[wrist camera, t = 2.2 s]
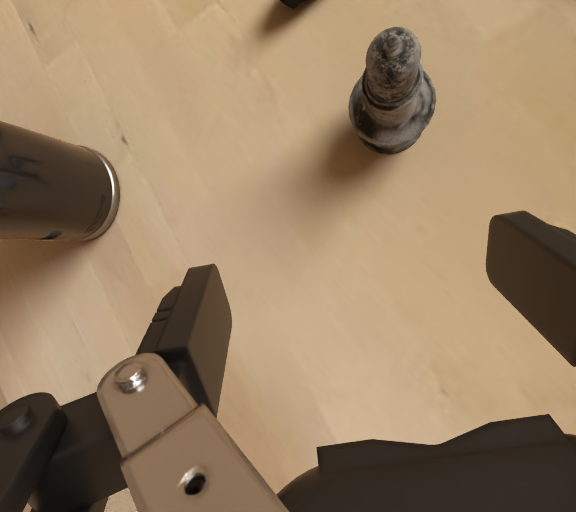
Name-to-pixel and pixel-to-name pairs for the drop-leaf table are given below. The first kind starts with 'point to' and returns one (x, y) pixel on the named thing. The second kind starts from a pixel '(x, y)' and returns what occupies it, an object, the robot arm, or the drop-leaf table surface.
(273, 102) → the drop-leaf table surface
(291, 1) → the electric trimmer
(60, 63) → the drop-leaf table surface
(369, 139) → the salt shaker
